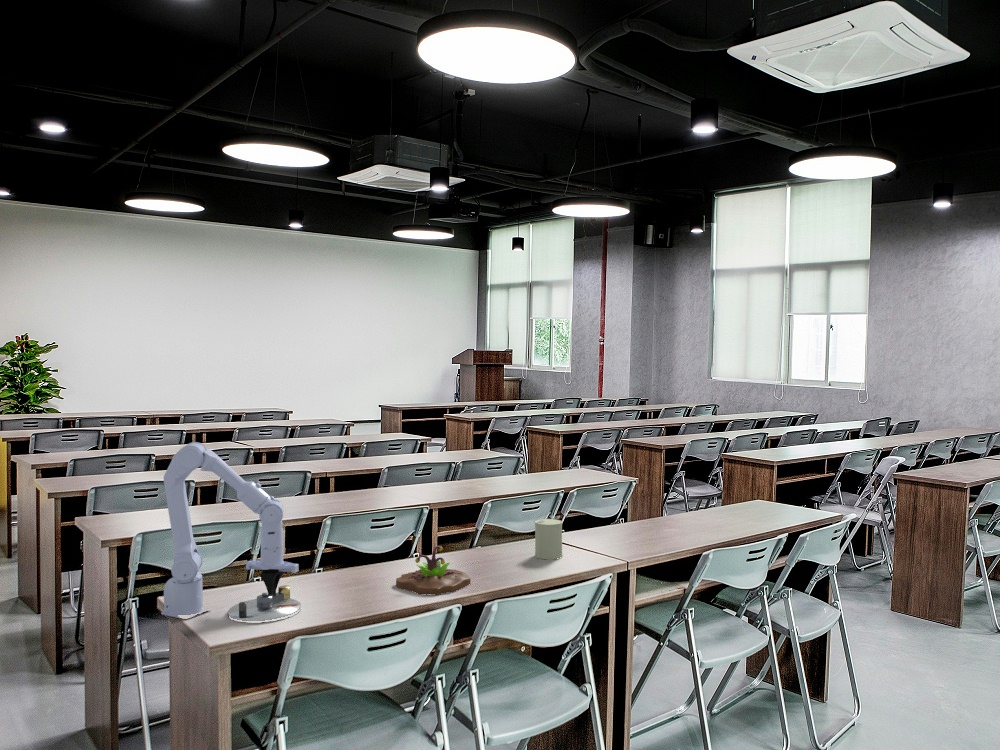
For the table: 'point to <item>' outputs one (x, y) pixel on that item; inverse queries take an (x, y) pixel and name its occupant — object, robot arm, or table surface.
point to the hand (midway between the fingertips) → (272, 597)
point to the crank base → (263, 610)
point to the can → (548, 539)
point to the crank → (274, 597)
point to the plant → (433, 577)
